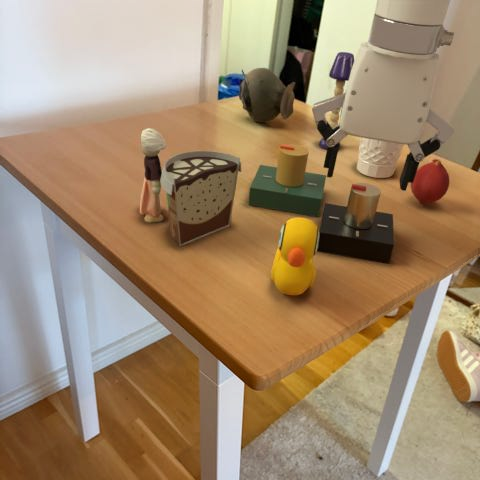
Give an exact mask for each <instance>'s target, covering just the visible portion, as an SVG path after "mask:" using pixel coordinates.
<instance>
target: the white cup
mask: <svg viewBox="0 0 480 480" xmlns="http://www.w3.org/2000/svg"><path fill="white" fill-rule="evenodd" d="M404 145H405V144H398V143H392V142H386V141H380V140H374V139H368V138H362V137H360V140H359V148H358V153H357V154H358V157H357V161H356V170H357V171H358V172H359V173H360V174H362V175H364V176H366V177H371V178H374V179H386V178H387V179H388V178H390V177H392V176H393V175H394V173H395V170H396V167H397V164H398V161H399V159H400V157H401V153H402V150H403V148H404Z"/></svg>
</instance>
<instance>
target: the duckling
mask: <svg viewBox="0 0 480 480" xmlns="http://www.w3.org/2000/svg"><path fill="white" fill-rule="evenodd" d="M319 231H320V230H319V228H318V226H317V224H316V223H315V222H314V221H313V220H311V219H309V218H306V217H291V218H290V219H288V220H287V221H286V222H285V223H284V224H283V225H282V227H281V229H280V231H279V236H278V246H277V249H276V252H275V254H274V255H275V256H274V259H273V261H272V265H271V271H270V278H271V281H272V282H273V283H274V285H275V287H276V289H277V290H278V291H279V292H280V293H281V294H283V295H284V294H285V295H288V296H298V295H302V294H303V293H304V292H305V291H307V289H308V288H311V287H313V285H314V284H315V281H316V277H317V275H316V274H317V271H316V266H315V265H314V256H315V255H316V253H317V252H318V251H317V249H318V245H319Z"/></svg>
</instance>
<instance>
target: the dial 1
mask: <svg viewBox="0 0 480 480" xmlns="http://www.w3.org/2000/svg"><path fill="white" fill-rule="evenodd" d="M278 151H279V152H278V159H277V166H276V167H277V173H276V181H277V182H278V183H279V184H281V185H284V186H288V187H297V186H301V185H302V184H303V183H304V177H305V172H307V171H306V169H307V164H308V160H309V159H308V158H309V153H310V151H309V150H308V148H307V147H305V146H303V145H301V144H293V143H287V144H280V145H279V150H278Z"/></svg>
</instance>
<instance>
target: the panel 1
mask: <svg viewBox="0 0 480 480" xmlns="http://www.w3.org/2000/svg"><path fill="white" fill-rule="evenodd" d="M276 173H277V166H272V165H271V166H270V165H264V164H259V166H258V168H257V171H256V173H255V175H254V177H253V179H252V182H251V184H250V187H249V194H248V202H247V203H248V204H247V205H248V206H251V207H252V206H253V207H257V208H263V209H269V210H275V211H281V212H287V213H292V214H298V215H304V216H311V217H316V218H319V216H320V211H321V206H322V201H323V197H324V190H325V186H326V185H325V184H326V179H327V175H326V174H321V173H315V172H307V171H305V177H304V183H303V184H302V185H301V186H297V187H288V186H284V185H281V184H279V183H278V182H277V181H276Z"/></svg>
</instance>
